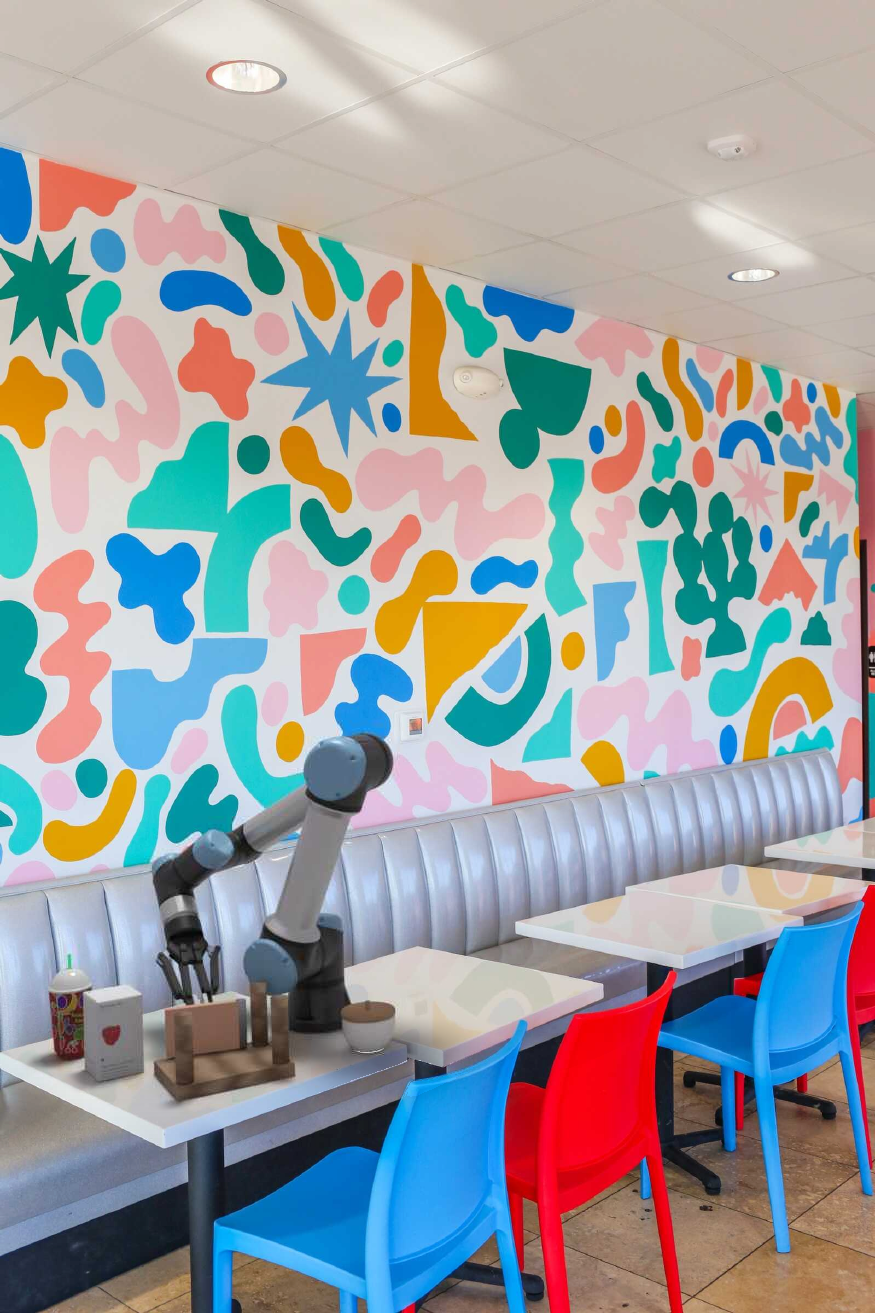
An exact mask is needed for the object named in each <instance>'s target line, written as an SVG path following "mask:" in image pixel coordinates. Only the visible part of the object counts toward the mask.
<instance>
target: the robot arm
mask: <svg viewBox="0 0 875 1313" xmlns="http://www.w3.org/2000/svg"><path fill="white" fill-rule="evenodd" d="M393 769H394V756H393V752H392V749H391V747H390V746H389V744H388V743H387V742H386V741H385V740H384V739H383V738H381V737H380V736H378V735H376V734H373V733H368V732H362V733H356V734H351V735H345V736H344V735H336V736H333V737H329V738H327V739H325V740H322V741H320V742H319V743H316V744H315V745H314V746H313V747H312V748H311V750H310V751H309V752H308V754H307V755H306V758H305V760H304V762H303V770H302V771H303V772H302V773H303V775H302V776H303V779H305V783H304V784H302V785H301V786H299V787H297V788H296V789H294V790H292V791H291V792H290V793H288V794H286V795H285V796H283V797H282V798H281V799H279V800H277V801H276V802H274V803H273V804H271V805H270V806H268V807H267V808H265V809H263V810H262V811H261V812H259V813H257V814H256V815H254V816H253V817H251V818H250V819H248V820H246V821H245V822H244V823H242V824H240V825H238V826H237V827H236V828H235V829H233V830H230V831H229V832H226V833H224V832H223V831H221V830H220V831H219V830H217V829H210V830H207V831H206V832H205V833H204V834H202V835H200V836H199V837H198V838H196V840H195V841H194V842H193V843H192V844H190V845H189V846H188V847H187V848H186V849H185V850H183V852H181V853H177V852H170V853H166V854H164V856H159V857H158V858H157V857H156V859H155V860H154V861H153V863H152V866H151V875H152V885H153V887H154V891H155V894H156V899H157V903H158V908H159V913H160V917H161V918H160V919H161V924H162V927H163V933H164V938H165V943H166V948H165V951H161V952H160V951H159V952H158V954H157V957H156V959H155V963H156V964H157V965H158V966H159V967H160V969H161V970H162V972H163V975H164V977H165V979H166V981H167V984H168V986H169V988H170V992H171V994H172V996H173V999H174V1000H175V1001H180V1000H182V1002H183V1003H184V1004H185V1006H186V1005H195V1004H203V1003H211V1002H214V1000H213V996H216V995H217V994H218V991H219V989H220V971H219V969H220V968H219V955H220V951H221V948H222V947H221V946H220V945H215V946H212V945H210V944H209V943H208V941H207V940H206V938H205V935H204V931H203V927H202V922H201V918H200V914H199V909H198V905H197V902H196V897H195V892H194V891H195V889H196V888H197V887H198V886H200V885H201V884H202V883H203V882H205V881H206V880H207V879H208V878H209V877H211V876H212V875H214V874H216V873H217V874H218V873H220V872H223V871H225V870H230V869H232V868H234V867H239V866H242V865H247V864H248V865H249V864H250V863H252V862H254V861H255V860H258V859H259V858H260V857H261V856H262V855H263V853H264V852H265V851H267V850H268V849H269V848H271V847H274V846H275V845H277V844H278V843H279V842H281V841H282V840H284V839H286V838H287V837H288V836H291V835H293V834H294V833H295V832H297V831H298V830H300V829H301V830H300V832H299V836H298V840H297V843H296V846H295V849H294V852H293V856H292V858H291V862H290V865H289V869H288V870H287V874H286V878H285V880H284V882H283V883H284V884H283V887H282V889H281V893H280V896H279V899H278V902H277V905H276V909H275V911H274V912H273V913H271V914H268V915H267V916H266V917H265V918H264V922H263V924H262V928H261V929H260V930H261V931H260V933H259V937H258V939H255V940H254V941H252V942H251V943H250V944H249V945H248V946H247V947H246V950H245V951H244V954H243V958H242V959H243V960H242V965H243V966H242V967H243V971H244V974H245V976H246V977H247V980H248V982H249V984H250V983H251V982H254V981H265V982H266V986H267V997H268V996H269V997H271V996H274V995H286V994H287V996H288V1022H289V1032H290V1031H291V1032H294V1033H299V1034H300V1033H301V1034H302V1033H303V1034H318V1033H319V1034H320V1033H321V1034H323V1033H329V1032H335V1031H339V1030H343V1028H342V1017H341V1010H342V1009H343V1008H344V1007H346V1006H348V1005H351V1004H353V1003H352V1001H351V998H350V995H349V992H348V990H347V987H346V984H345V954H344V953H345V952H344V951H345V948H344V947H345V946H344V933H345V932H344V928H343V926H344V925H343V920H342V918H341V916H340V915H338V914H335V913H330V912H329V913H328V912H321V911H322V908H323V904H324V902H325V898H326V895H327V892H328V889H329V886H330V884H331V879H332V877H333V875H334V874H333V873H334V871H335V868H336V866H337V862H338V858H339V855H340V852H341V849H342V846H343V843H344V840H345V836H346V833H347V830H348V828H349V824H350V821H351V819H352V817H354V816H356V815H358V814H360V813H361V812H362V809H363V807H364V803H365V800H366V796H367V794H368V793H369V792H370V791H372V790H375V789H377V788H380V787H381V786H382V785H384V784H385V783H386V782H387V781H388V779H389V778H390V776H391V774H392V772H393ZM205 953H207V957H208V958H209V978H208V975H207V972H206V968H205V965H204V956H205ZM170 959H172V960H173V961H174V962H175V963H176V964H177V966H178V971H179V976H180V981H179V979H178V977H177V974H176V971H175V969H174V967H173V965H172V962H171V960H170ZM189 965H190V966H192V968H193V970H194V971H195V972H194V973H195V975H196V976H195V977H196V979H197V982H198V983H197V984H198V986H199V988H200V992H201V993H200V994H201V996H200V1000H199V999H198V995H197V994H193V988H192V980H191V975H190V974H191V973H190V967H189ZM209 980H210V981H209ZM180 982H181V983H180Z"/></svg>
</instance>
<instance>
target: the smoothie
mask: <svg viewBox="0 0 875 1313" xmlns="http://www.w3.org/2000/svg"><path fill="white" fill-rule="evenodd" d="M47 990H48V998H49V1008H50V1017H51V1019H50V1020H51V1028H52V1039H53V1040H52V1041H53V1042H52V1043H53V1051H54V1052H55V1053H56V1055H57V1058H58V1059H60V1060H77V1059H80V1058H83V1057H84V1010H83V992H87V991H93V982H92V981H90V978H89V976H88V975H87V974H86V973H85V972H84V971H83V970H82V969H80V968H77V967H73V966H72V953H69V954H67V968H64V969H61V970H60V971H58V972H57V973H56V974H55V975H54V977H53V978H52V980H51V983H50V985H49V986H48V988H47Z"/></svg>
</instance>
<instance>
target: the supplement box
mask: <svg viewBox="0 0 875 1313" xmlns="http://www.w3.org/2000/svg"><path fill="white" fill-rule="evenodd" d="M83 1010H84V1056H83V1057H84V1059H83V1060H84V1069H85V1071H86V1072H88V1074H90V1075H91V1076H92V1077H93V1078H94V1080H96V1081H97V1082H99V1083H100V1082H104V1081H109V1080H113V1079H118V1078H122V1077H127V1076H132V1075H137V1074H141V1073H144V1072H145V1059H144V1058H145V1057H144V1055H145V1054H144V1052H145V1050H144V1025H143V1024H144V1021H143V1020H144V1018H143V1017H144V1015H143V1011H144V1010H143V994H142V993H141V992H140V991H138V990H137V989H135V988H134V987H132V986H131V985H129V984H123V985H122V984H121V985H116V986H112V987H104V988H99V989H94V990H93V989H92V991H87V992H83Z"/></svg>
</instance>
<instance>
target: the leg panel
mask: <svg viewBox="0 0 875 1313" xmlns="http://www.w3.org/2000/svg"><path fill="white" fill-rule="evenodd" d="M178 1012H191V1013H192V1026H193V1055H194V1054H202V1053H209V1052H216V1051H224V1050H231V1049H238V1048H246V1047H247V1043H248V1029H247V1028H248V1027H247V1025H248V1024H247V1022H248V1021H247V999H246V998H237V999H229V1000H222V1001H221V1000H219V1001H213V1002H211V1003H203V1004H200V1003H199V1004H195V1005H186V1004H185V1005H180V1006H172V1007H165V1008H164V1030H165V1031H164V1032H165V1033H164V1034H165V1056H166V1057H165V1058H166V1059H167V1058H172V1057H175V1038H174V1014H175V1013H178Z"/></svg>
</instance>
